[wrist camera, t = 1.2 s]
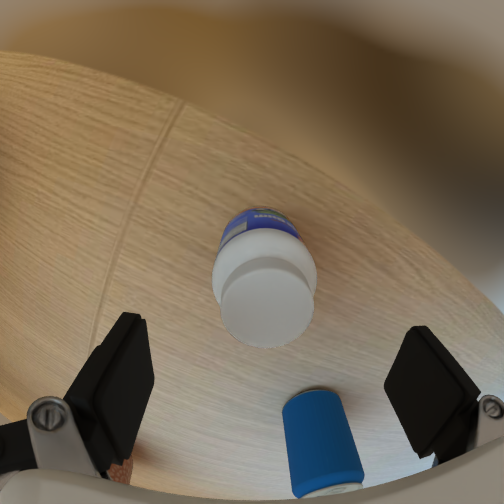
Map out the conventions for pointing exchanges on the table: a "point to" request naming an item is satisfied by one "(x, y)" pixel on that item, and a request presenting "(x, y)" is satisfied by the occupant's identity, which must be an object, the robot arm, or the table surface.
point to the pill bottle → (264, 279)
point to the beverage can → (320, 446)
